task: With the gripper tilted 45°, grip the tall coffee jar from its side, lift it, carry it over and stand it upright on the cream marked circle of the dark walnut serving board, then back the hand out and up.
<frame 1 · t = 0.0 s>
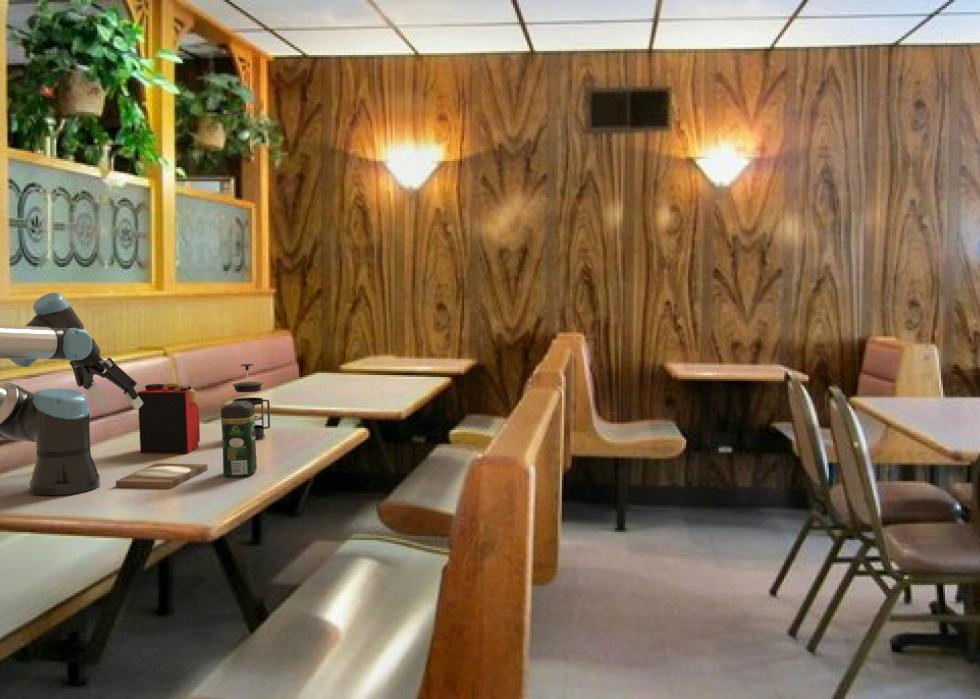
hand: (121, 405, 247), 15 cm above the table, tool tilted 35°, fingers open, 13 cm apart
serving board: (163, 478, 227), on the table
coffee jar: (239, 474, 231), on the table
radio: (170, 451, 263), on the table
french press: (250, 438, 281), on the table
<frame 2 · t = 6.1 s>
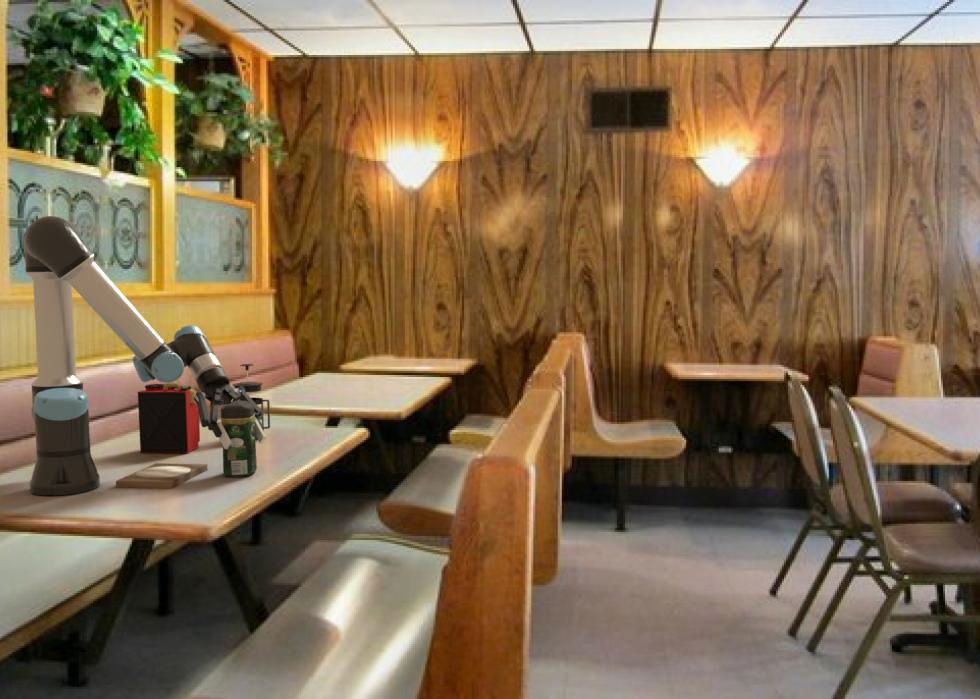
hand: (245, 442, 229), 8 cm above the table, tool tilted 45°, fingers closed on coffee jar, 9 cm apart
coffee jar: (239, 474, 231), on the table, touching gripper
everything else where it was.
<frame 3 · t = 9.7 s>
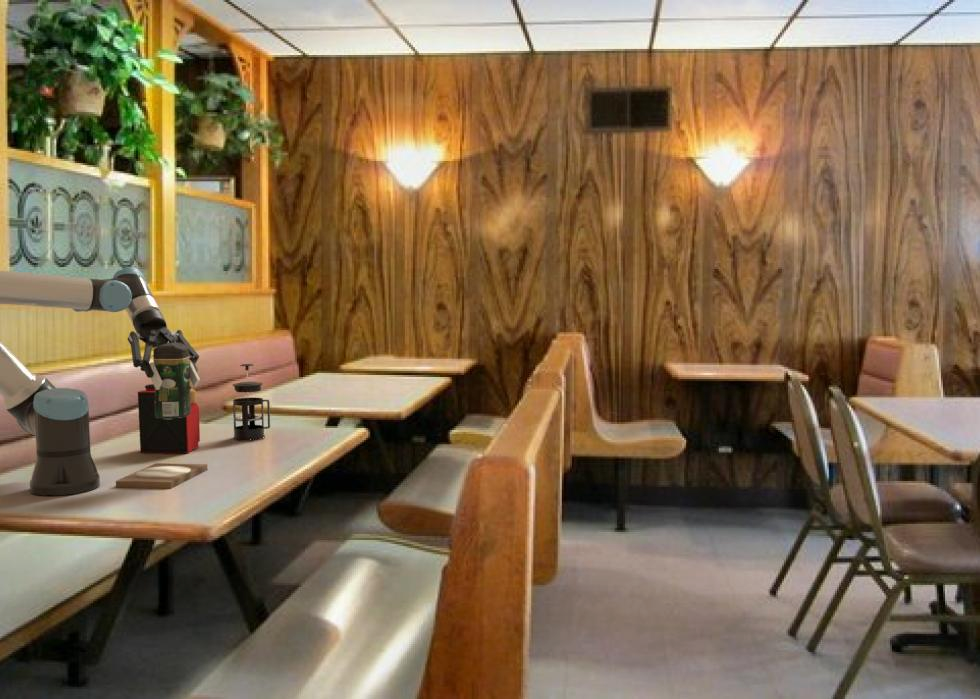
hand: (178, 384, 224), 24 cm above the table, tool tilted 45°, fingers closed on coffee jar, 9 cm apart
coffee jar: (172, 417, 227), point 15 cm above the table, touching gripper
everything else where it was.
when the fingers open (11 cm above the table, at t = 13.0 s): coffee jar drops 1 cm, resting on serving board.
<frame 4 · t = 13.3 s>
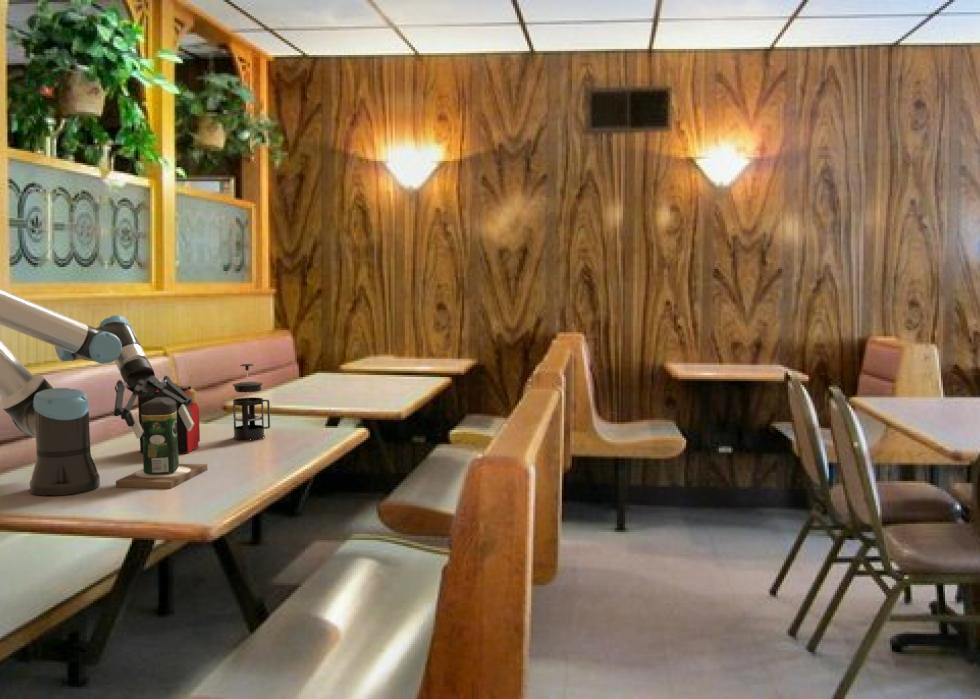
hand: (166, 431, 224), 12 cm above the table, tool tilted 45°, fingers open, 13 cm apart
coffee jar: (161, 472, 227), point 1 cm above the table, touching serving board
everything else where it was.
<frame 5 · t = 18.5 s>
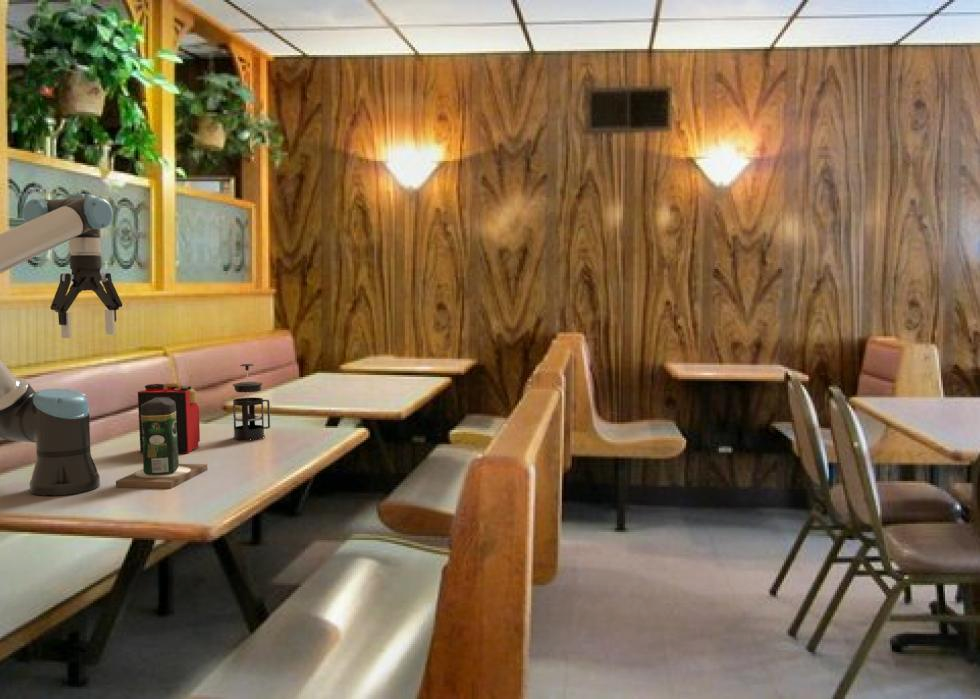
hand: (89, 336, 238), 35 cm above the table, tool pointing down, fingers open, 13 cm apart
nothing on the table moved.
at the end: coffee jar inside the target area on the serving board (0.5 cm from its centre), point 1.4 cm above the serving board's base; coffee jar tilted 0°; the gripper is holding nothing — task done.
